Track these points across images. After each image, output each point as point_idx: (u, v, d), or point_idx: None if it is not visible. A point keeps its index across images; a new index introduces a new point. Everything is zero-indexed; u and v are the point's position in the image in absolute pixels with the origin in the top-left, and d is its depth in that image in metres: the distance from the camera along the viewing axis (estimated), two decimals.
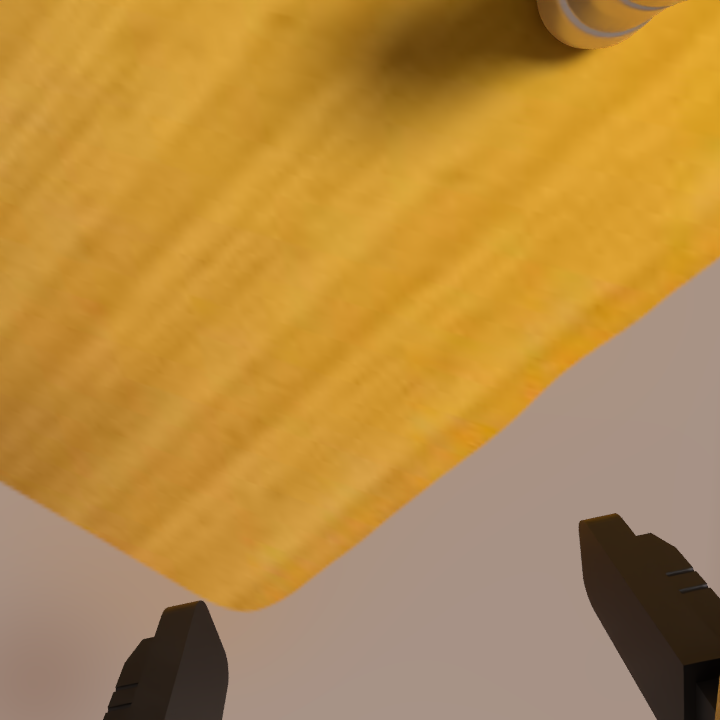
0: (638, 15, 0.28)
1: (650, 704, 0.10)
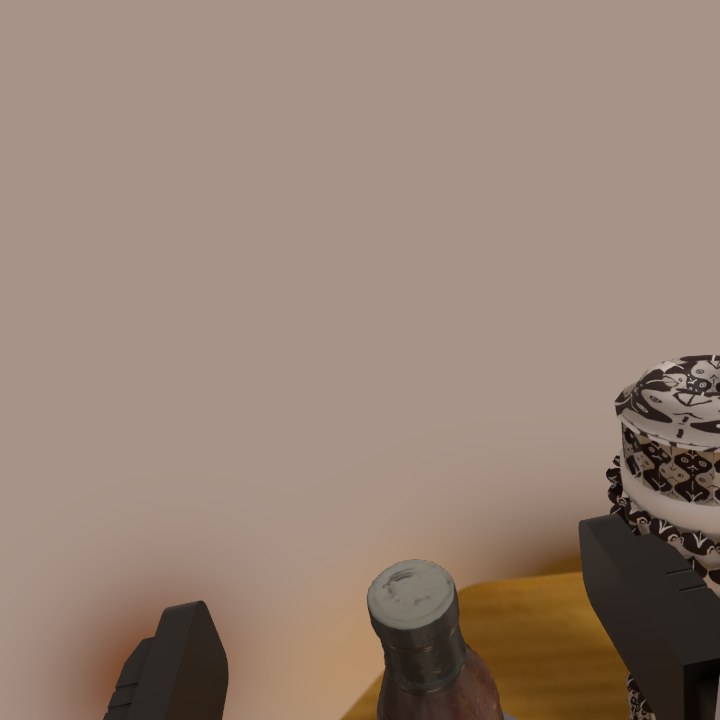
0: None
1: (650, 704, 0.10)
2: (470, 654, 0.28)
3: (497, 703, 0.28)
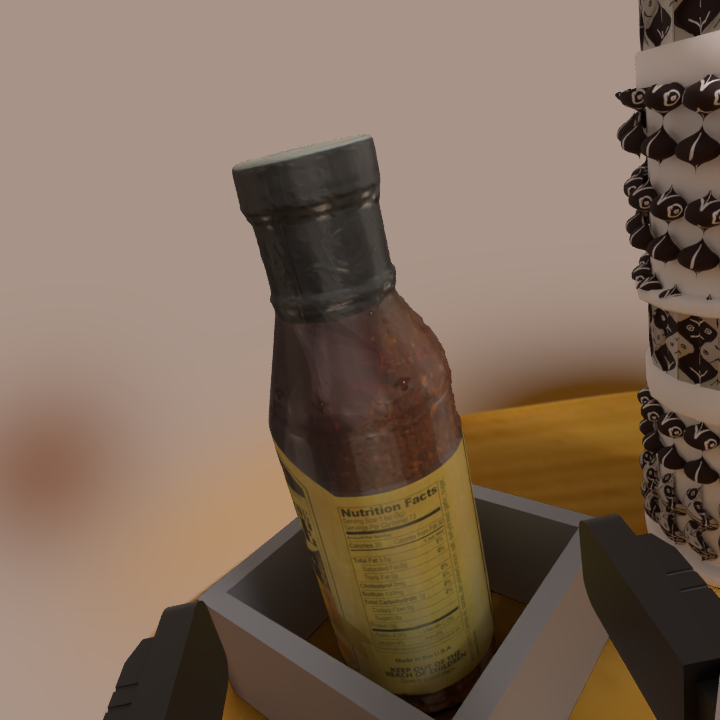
0: None
1: (650, 704, 0.10)
2: (406, 303, 0.18)
3: (446, 372, 0.18)
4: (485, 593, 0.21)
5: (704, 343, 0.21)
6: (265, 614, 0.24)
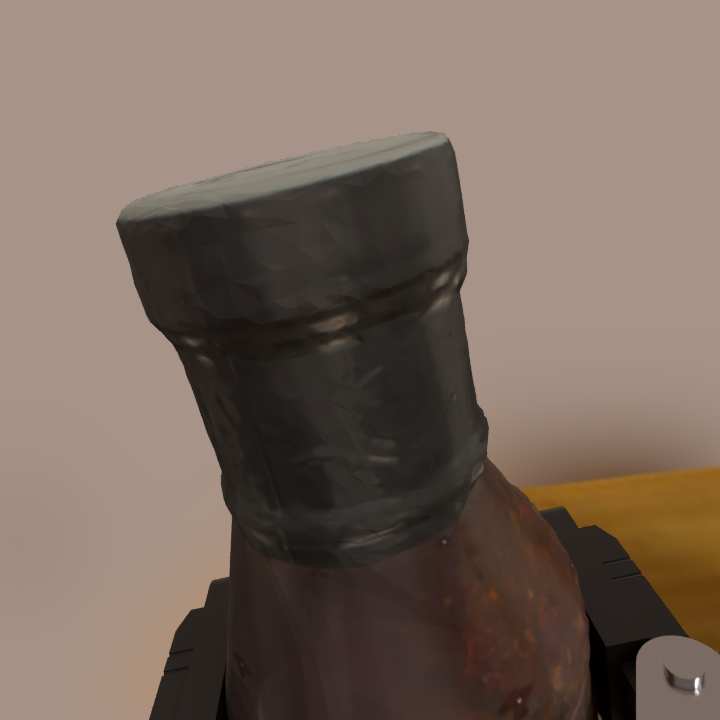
0: None
1: None
2: (498, 470, 0.09)
3: (584, 618, 0.09)
4: None
5: None
6: None
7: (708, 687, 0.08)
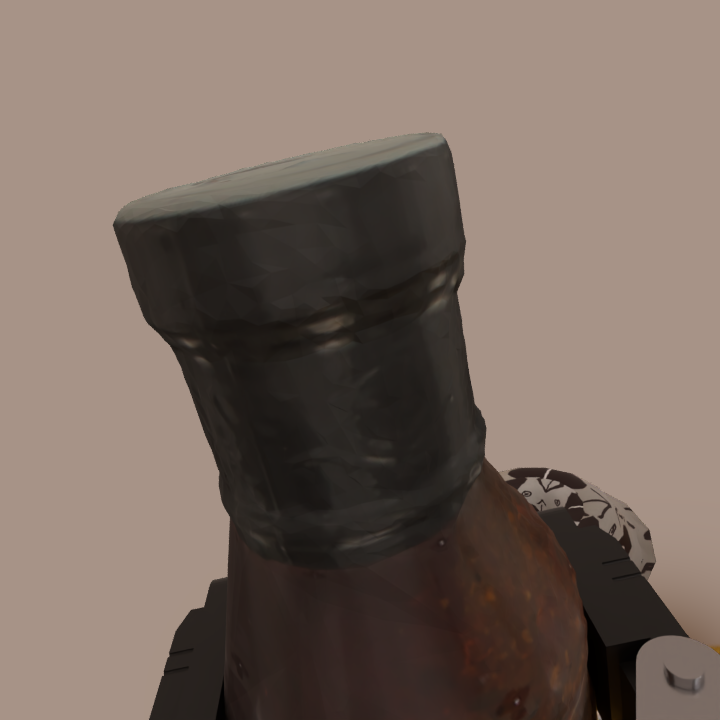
0: None
1: None
2: (496, 471, 0.09)
3: (582, 618, 0.09)
4: None
5: None
6: None
7: (708, 687, 0.08)
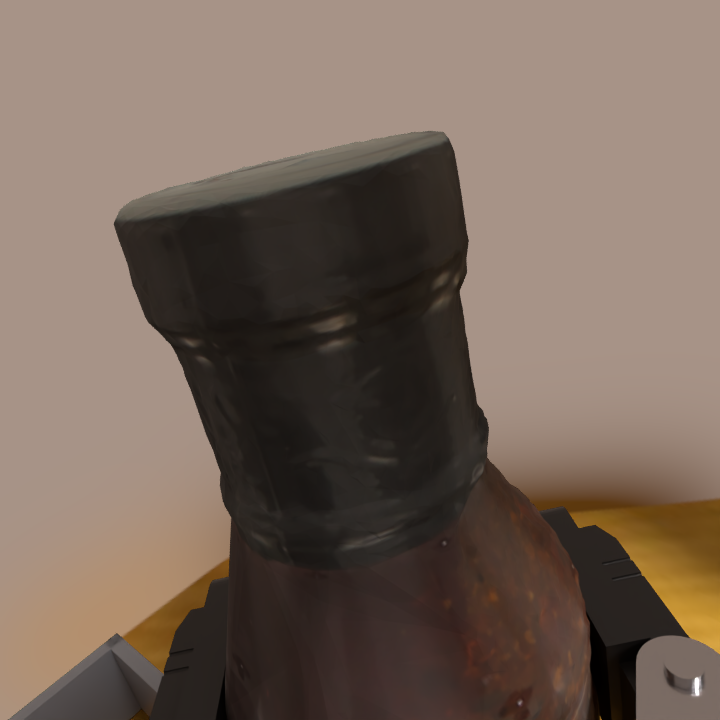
0: None
1: None
2: (498, 471, 0.09)
3: None
4: None
5: None
6: None
7: (708, 687, 0.08)
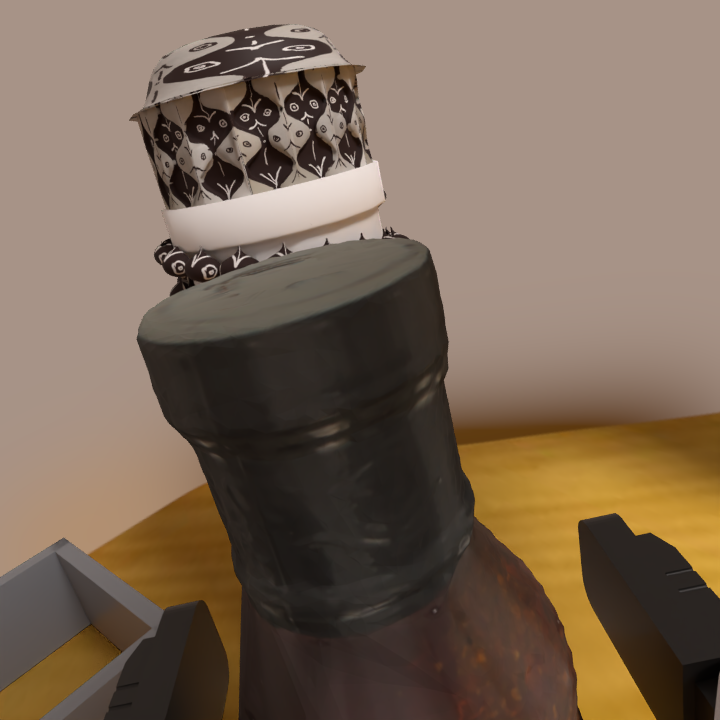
0: None
1: (649, 703, 0.10)
2: (487, 532, 0.10)
3: (571, 671, 0.09)
4: None
5: None
6: None
7: None
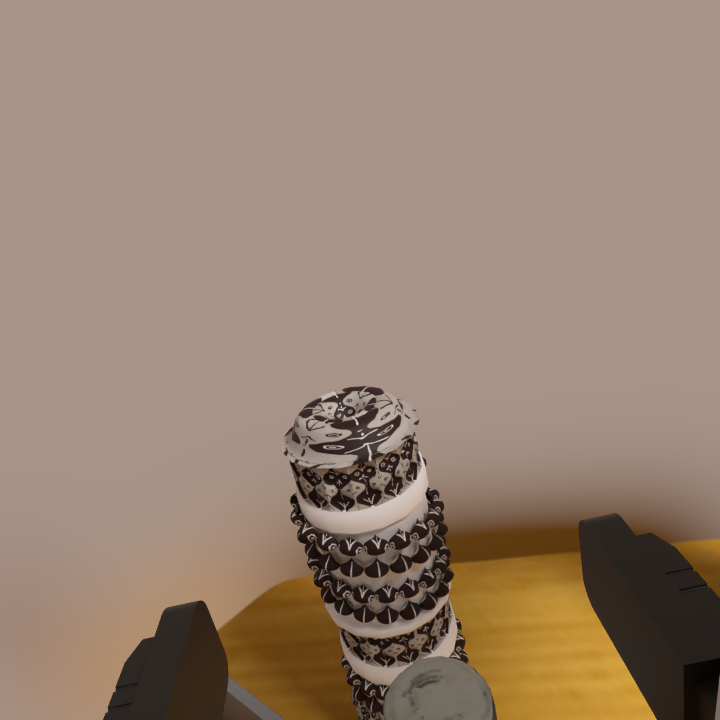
0: None
1: (649, 704, 0.10)
2: None
3: None
4: None
5: (345, 630, 0.37)
6: None
7: None
